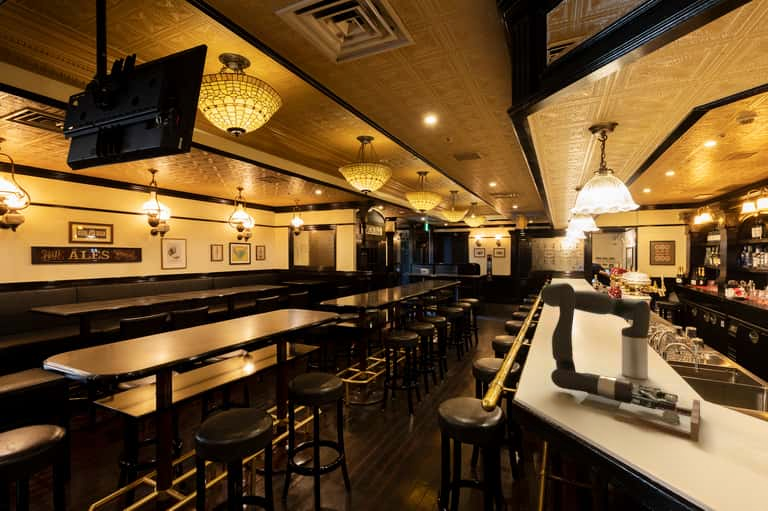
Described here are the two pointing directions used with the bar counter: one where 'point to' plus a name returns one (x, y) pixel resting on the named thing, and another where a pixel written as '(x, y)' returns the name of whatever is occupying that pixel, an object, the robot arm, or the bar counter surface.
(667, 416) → the rook chess piece
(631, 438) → the bar counter surface
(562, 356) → the robot arm
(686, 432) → the walnut lane
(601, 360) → the bar counter surface
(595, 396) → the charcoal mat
